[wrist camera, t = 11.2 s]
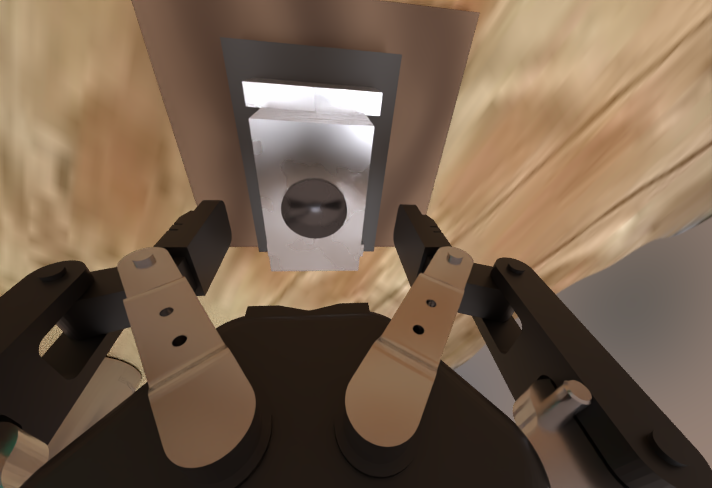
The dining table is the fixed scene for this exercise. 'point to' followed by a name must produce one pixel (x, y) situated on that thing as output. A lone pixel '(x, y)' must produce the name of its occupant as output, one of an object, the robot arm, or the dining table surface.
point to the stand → (307, 64)
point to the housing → (312, 169)
